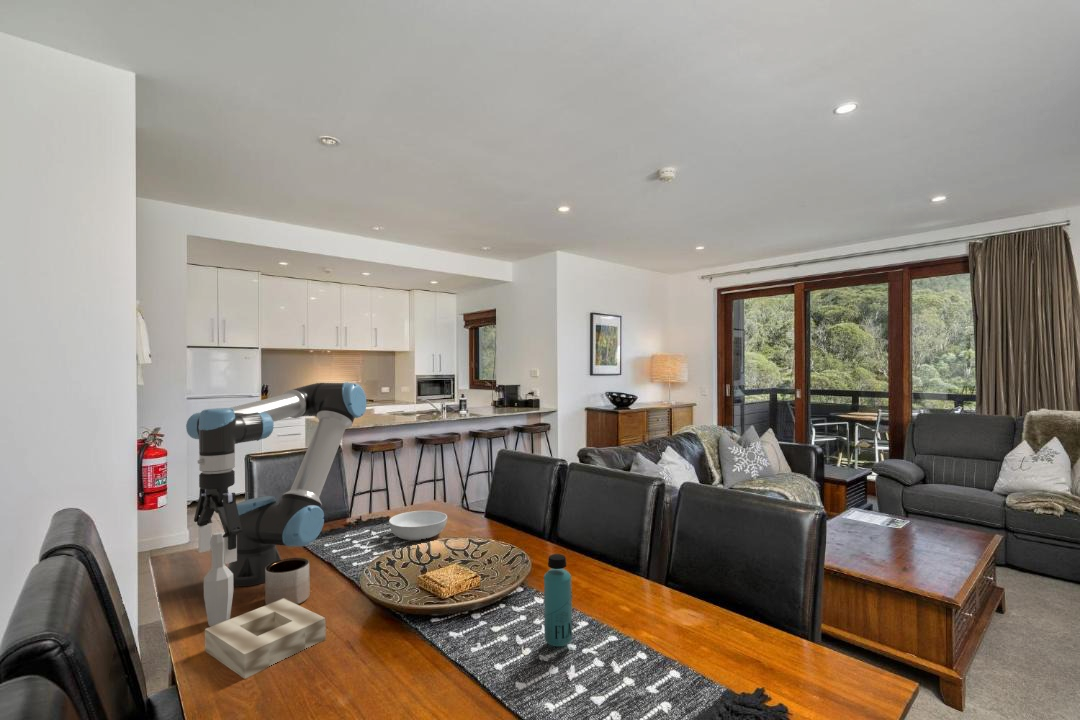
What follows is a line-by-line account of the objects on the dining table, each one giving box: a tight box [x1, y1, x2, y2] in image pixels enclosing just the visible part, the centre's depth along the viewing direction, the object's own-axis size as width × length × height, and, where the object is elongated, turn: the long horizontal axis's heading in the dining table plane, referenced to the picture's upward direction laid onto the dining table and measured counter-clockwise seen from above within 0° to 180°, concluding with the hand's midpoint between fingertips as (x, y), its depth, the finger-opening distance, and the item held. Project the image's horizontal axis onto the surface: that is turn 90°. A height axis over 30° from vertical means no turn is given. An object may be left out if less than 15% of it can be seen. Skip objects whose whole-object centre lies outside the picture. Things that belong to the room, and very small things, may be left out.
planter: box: [264, 557, 311, 606], centre depth 141 cm, size 11×11×10 cm
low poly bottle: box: [203, 531, 234, 627], centre depth 130 cm, size 6×6×22 cm
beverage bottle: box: [543, 553, 574, 647], centre depth 117 cm, size 6×7×20 cm
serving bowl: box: [388, 510, 448, 541], centre depth 192 cm, size 21×21×7 cm
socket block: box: [204, 599, 327, 679], centre depth 118 cm, size 18×18×5 cm
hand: (217, 556), depth 129 cm, fingers open, 13 cm apart
